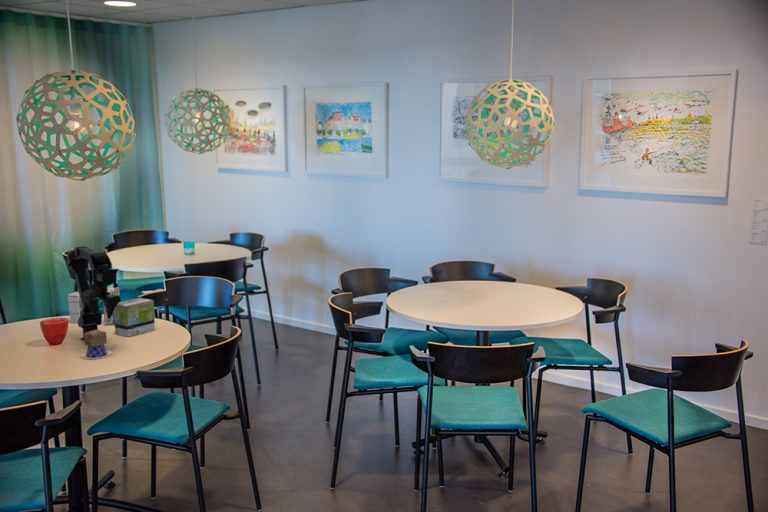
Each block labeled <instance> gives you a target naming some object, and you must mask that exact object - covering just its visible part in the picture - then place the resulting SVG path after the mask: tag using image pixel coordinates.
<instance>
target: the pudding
mask: <svg viewBox="0 0 768 512" xmlns="http://www.w3.org/2000/svg"><path fill="white" fill-rule="evenodd" d="M108 353H109V354H108ZM112 354H113V351H111V350H108V349H106V346H105V344H103V345H100V346H97V347H91V346H87V350H86V352H84V353H83V354H81V355H80V357H81V358H82V359H84V360H88V359H96V360H97V359H98V360H99V359H101V358H102V359H104V358H107V357H110V356H111V355H112ZM84 356H86V357H84Z"/></svg>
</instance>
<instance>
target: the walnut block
mask: <svg viewBox="0 0 768 512" xmlns="http://www.w3.org/2000/svg"><path fill="white" fill-rule="evenodd" d="M83 341H84V345H85V346H87V347H88V346H91V347H97V346H100V345H103V344H104V345H106V344H108V341H107V332H106V331H102V330H99V329H98V330H94V331H90V332H87V333H84V340H83Z"/></svg>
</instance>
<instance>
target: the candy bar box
mask: <svg viewBox="0 0 768 512" xmlns="http://www.w3.org/2000/svg"><path fill="white" fill-rule="evenodd" d="M107 289H108V292H109V293H110V295H118V296H120V297H121V293H120V287H109V288H107ZM110 295H107V296H110ZM102 302H103V301H102ZM102 304H105V303H104V302H103V303H102ZM103 319H104V321H103V322H104V323H103V324H104V326H115V317H114V311H113V314H112V316H111V318H109V319H108V316H107V310H106V307H105V306H104V305H103Z"/></svg>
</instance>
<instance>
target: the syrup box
mask: <svg viewBox="0 0 768 512" xmlns="http://www.w3.org/2000/svg"><path fill="white" fill-rule="evenodd" d="M67 299H68V300H67V301H68V310H69V311H68V312H69V322H70V323H71V324H78V320H79V317H80V311H81V308H82V303H81V299H80V295H79V291H74V292H73V293H69V294H67Z"/></svg>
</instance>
